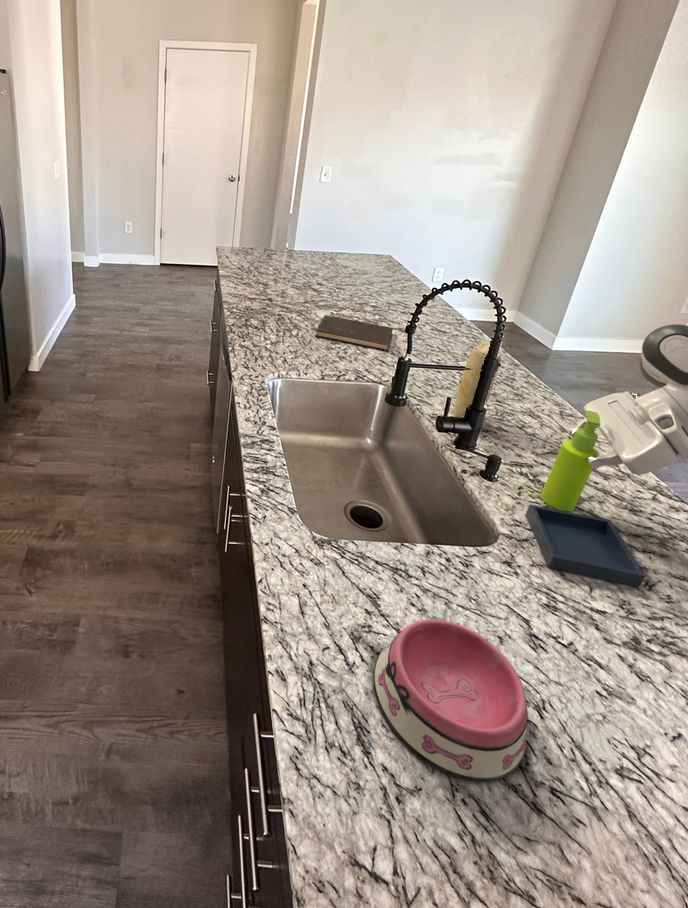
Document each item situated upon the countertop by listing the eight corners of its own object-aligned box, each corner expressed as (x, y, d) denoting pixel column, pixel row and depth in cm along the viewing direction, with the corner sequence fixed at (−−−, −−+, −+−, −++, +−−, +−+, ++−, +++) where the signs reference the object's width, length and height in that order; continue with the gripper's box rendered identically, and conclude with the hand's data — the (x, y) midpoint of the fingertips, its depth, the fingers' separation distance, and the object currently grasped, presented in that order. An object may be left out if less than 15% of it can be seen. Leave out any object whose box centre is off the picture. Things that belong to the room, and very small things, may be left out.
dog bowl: (352, 641, 79) (361, 609, 76) (472, 636, 81) (485, 605, 78) (410, 787, 63) (424, 754, 60) (559, 778, 64) (580, 745, 61)
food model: (484, 430, 132) (509, 357, 123) (454, 424, 133) (477, 352, 125) (477, 410, 140) (500, 340, 131) (449, 405, 142) (470, 336, 133)
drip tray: (604, 531, 102) (610, 519, 101) (638, 588, 90) (645, 576, 89) (525, 515, 105) (529, 504, 104) (548, 568, 93) (553, 556, 92)
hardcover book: (387, 351, 170) (388, 344, 169) (314, 336, 179) (315, 330, 178) (391, 333, 184) (393, 327, 183) (324, 320, 192) (325, 314, 191)
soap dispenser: (573, 495, 111) (610, 413, 102) (575, 515, 105) (615, 430, 97) (540, 484, 113) (574, 404, 105) (540, 504, 108) (576, 420, 99)
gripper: (625, 377, 106) (553, 409, 113) (681, 434, 89) (591, 469, 95) (642, 400, 107) (569, 431, 114) (700, 461, 90) (610, 494, 96)
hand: (579, 449), depth 104 cm, fingers open, 8 cm apart
